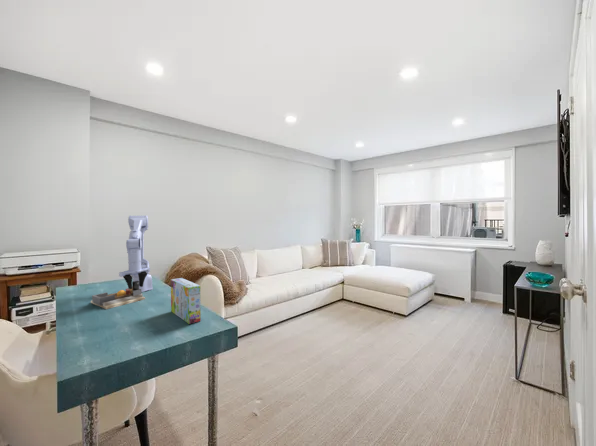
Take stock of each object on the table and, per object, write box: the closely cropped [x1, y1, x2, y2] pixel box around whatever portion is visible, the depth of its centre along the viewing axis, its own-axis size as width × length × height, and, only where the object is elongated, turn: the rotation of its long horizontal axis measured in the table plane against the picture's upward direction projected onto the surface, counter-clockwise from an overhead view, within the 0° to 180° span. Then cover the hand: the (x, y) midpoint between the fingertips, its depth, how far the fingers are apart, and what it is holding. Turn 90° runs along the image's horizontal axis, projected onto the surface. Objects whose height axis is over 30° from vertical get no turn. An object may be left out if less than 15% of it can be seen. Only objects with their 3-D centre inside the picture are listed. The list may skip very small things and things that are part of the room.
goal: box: [91, 292, 115, 305], centre depth 140 cm, size 6×9×3 cm
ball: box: [116, 289, 126, 296], centre depth 147 cm, size 4×4×4 cm
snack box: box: [170, 277, 202, 325], centre depth 122 cm, size 21×6×15 cm, turn 43°
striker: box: [125, 280, 142, 296], centre depth 148 cm, size 4×10×8 cm, turn 55°
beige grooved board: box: [90, 290, 146, 310], centre depth 145 cm, size 18×18×3 cm
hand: (135, 287), depth 146 cm, fingers open, 5 cm apart
